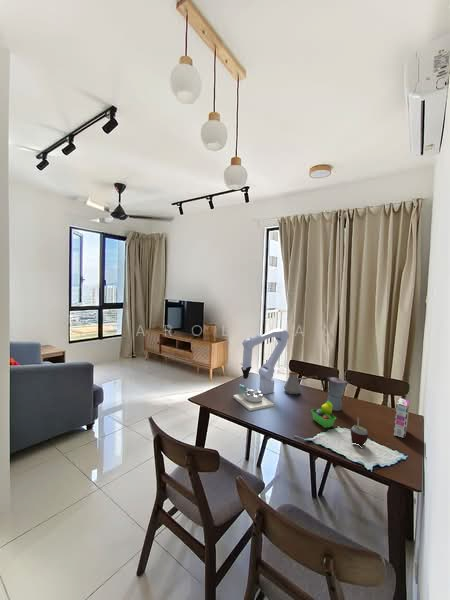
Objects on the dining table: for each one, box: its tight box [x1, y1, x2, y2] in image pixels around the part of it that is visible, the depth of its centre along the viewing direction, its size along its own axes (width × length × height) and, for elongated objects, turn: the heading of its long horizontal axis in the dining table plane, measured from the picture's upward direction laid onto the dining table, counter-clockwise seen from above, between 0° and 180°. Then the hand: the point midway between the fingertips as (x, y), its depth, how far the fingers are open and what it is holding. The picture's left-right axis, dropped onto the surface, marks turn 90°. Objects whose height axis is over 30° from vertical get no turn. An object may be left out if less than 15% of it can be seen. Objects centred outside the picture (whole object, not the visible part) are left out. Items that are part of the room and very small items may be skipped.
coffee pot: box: [283, 372, 318, 395], centre depth 176 cm, size 21×12×15 cm, turn 57°
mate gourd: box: [350, 416, 369, 447], centre depth 120 cm, size 8×8×15 cm
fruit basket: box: [311, 400, 337, 429], centre depth 139 cm, size 11×9×11 cm
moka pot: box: [320, 375, 350, 412], centre depth 158 cm, size 10×15×20 cm, turn 78°
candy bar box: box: [393, 397, 411, 439], centre depth 133 cm, size 11×5×16 cm, turn 141°
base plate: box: [233, 393, 275, 412], centre depth 161 cm, size 17×19×2 cm
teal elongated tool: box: [238, 383, 264, 403], centre depth 163 cm, size 18×11×5 cm, turn 37°
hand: (245, 378), depth 172 cm, fingers closed
